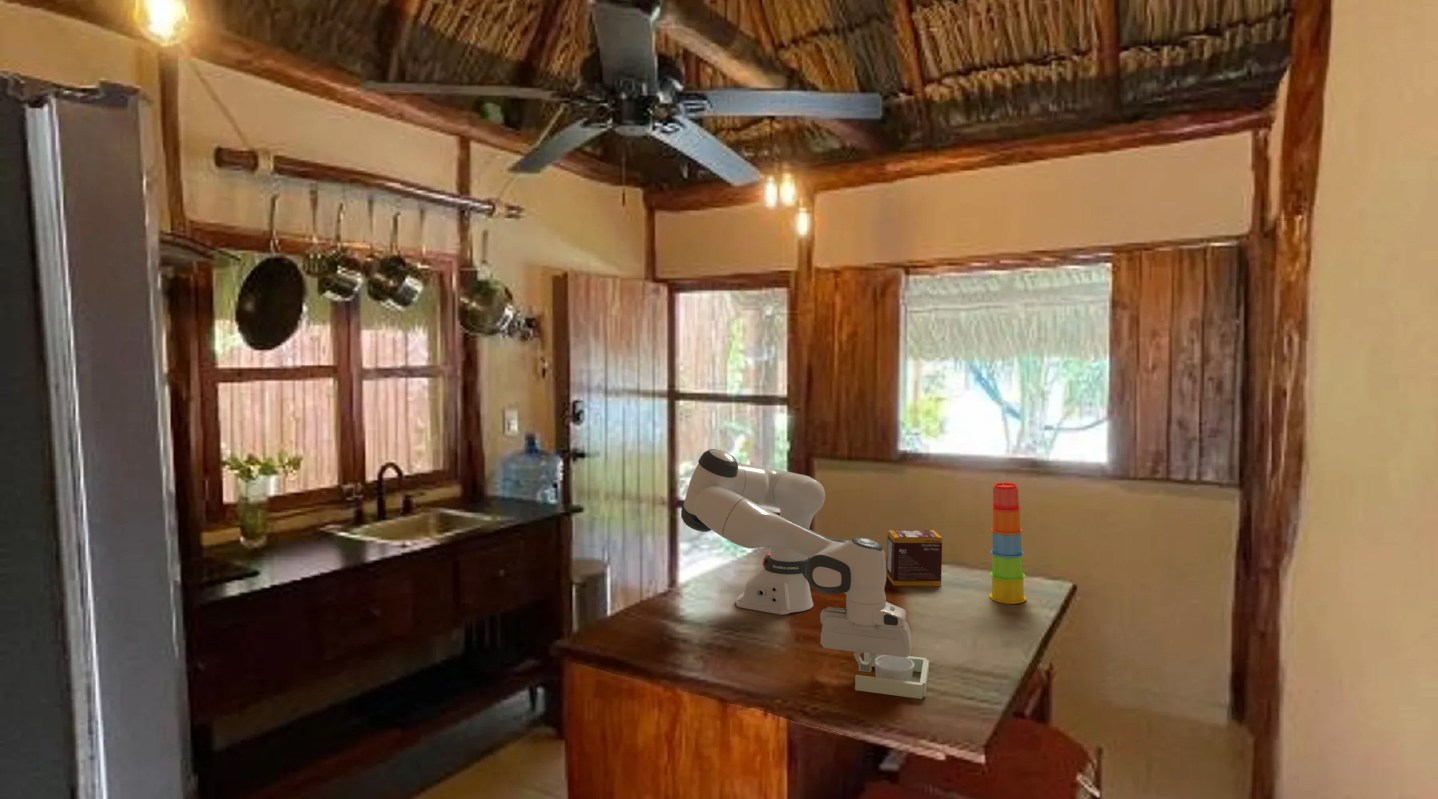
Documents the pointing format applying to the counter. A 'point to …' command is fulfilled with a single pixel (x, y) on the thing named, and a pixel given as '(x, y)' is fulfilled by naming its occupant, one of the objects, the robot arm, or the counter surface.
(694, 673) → the counter surface
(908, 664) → the ramekin
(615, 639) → the counter surface
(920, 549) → the supplement box
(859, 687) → the tray frame
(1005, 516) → the stacking cups
